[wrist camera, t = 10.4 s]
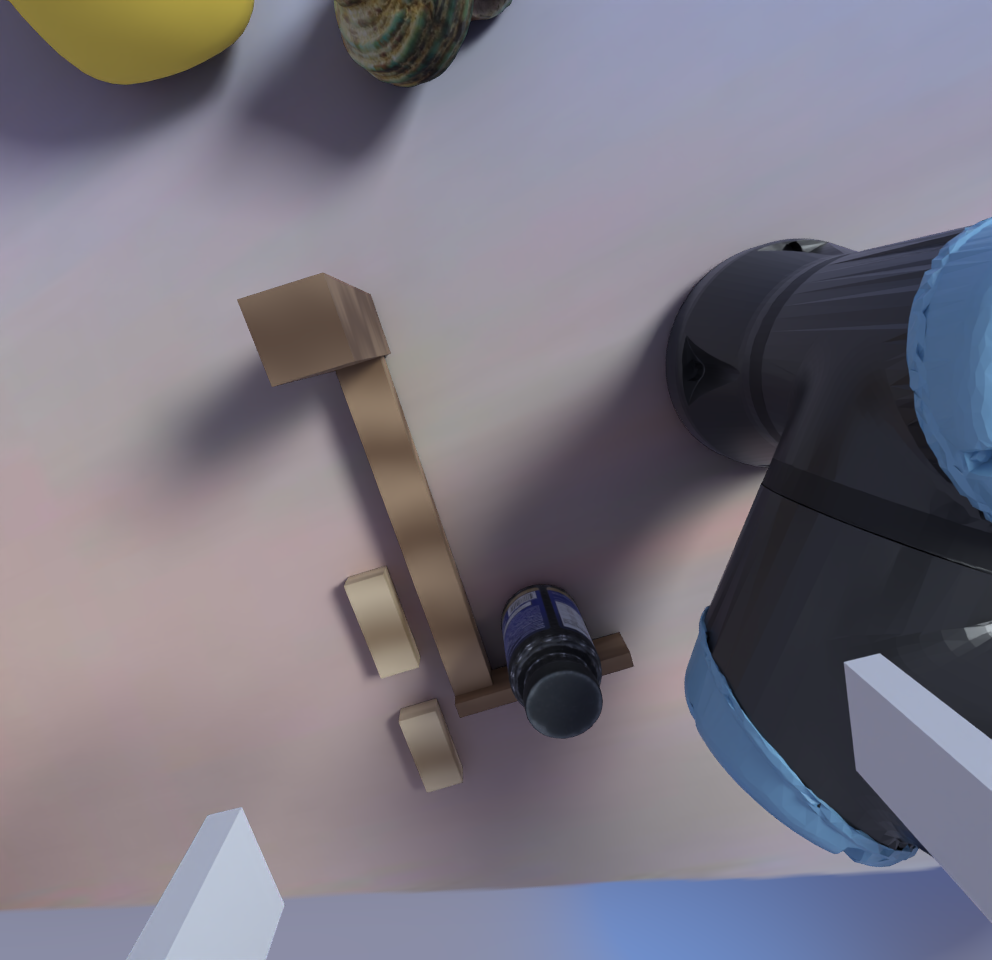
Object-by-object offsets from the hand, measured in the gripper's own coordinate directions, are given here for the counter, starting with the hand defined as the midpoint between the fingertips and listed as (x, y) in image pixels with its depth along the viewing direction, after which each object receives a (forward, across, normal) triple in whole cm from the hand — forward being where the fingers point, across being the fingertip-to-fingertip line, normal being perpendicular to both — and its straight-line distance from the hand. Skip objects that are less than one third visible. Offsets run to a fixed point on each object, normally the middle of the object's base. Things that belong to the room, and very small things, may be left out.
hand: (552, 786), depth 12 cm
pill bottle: (+30, 0, -12) cm, 33 cm away
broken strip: (+30, -11, -15) cm, 35 cm away
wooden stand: (+30, -2, -1) cm, 30 cm away
